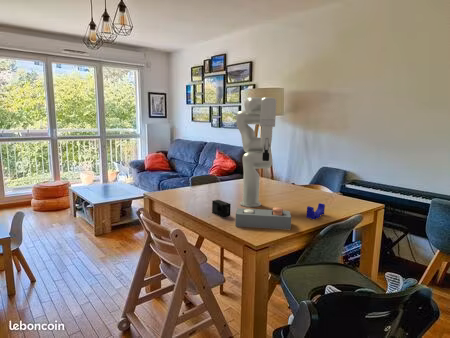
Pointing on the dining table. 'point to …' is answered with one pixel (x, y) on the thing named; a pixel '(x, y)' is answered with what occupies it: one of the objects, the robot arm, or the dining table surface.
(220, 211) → the digital camera
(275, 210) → the terracotta plug
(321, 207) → the blue curved block
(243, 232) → the dining table surface
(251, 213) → the plug
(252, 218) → the block
